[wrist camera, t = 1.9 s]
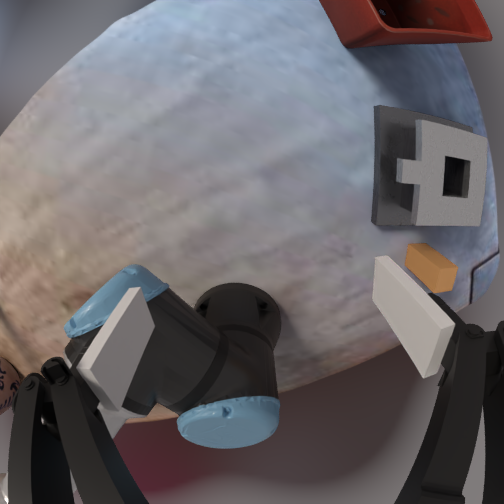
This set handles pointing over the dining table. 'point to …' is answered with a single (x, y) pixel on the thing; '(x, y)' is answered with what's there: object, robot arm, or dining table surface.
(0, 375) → the ceramic pitcher
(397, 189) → the tabbed square frame
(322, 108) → the dining table surface
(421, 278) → the orange rectangular block
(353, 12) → the plant pot
